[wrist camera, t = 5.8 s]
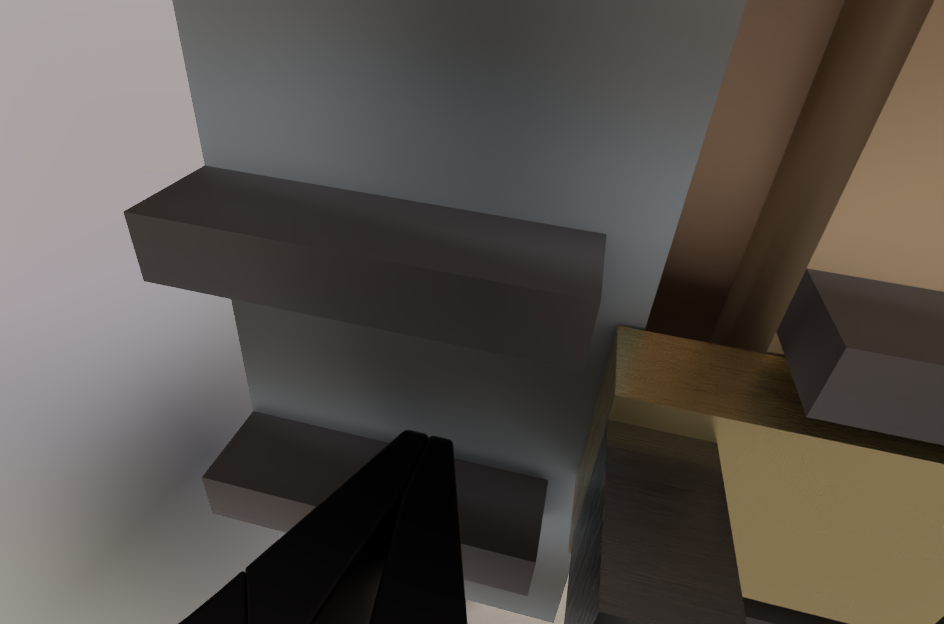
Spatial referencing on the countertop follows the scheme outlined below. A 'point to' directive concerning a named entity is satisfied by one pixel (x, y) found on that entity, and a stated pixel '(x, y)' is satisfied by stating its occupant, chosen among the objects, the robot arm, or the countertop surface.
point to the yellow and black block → (744, 498)
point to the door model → (549, 232)
